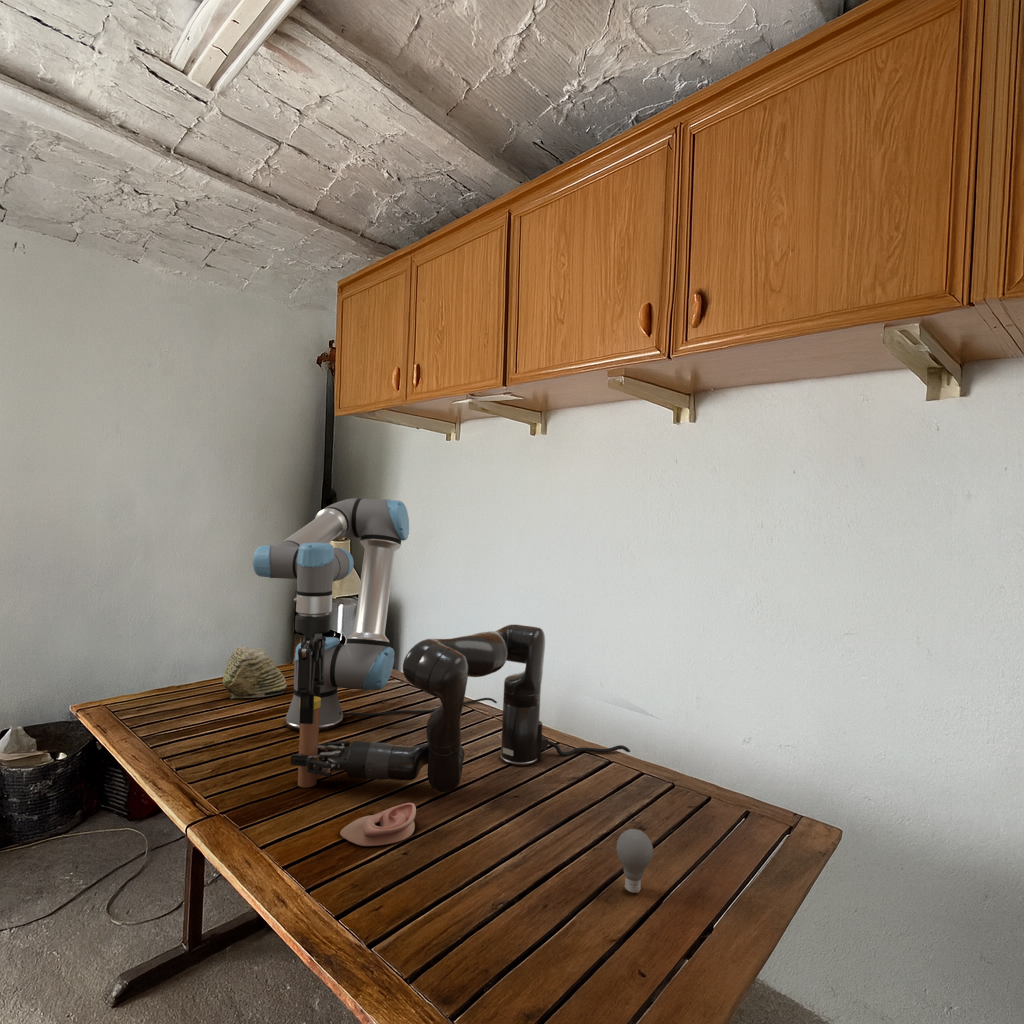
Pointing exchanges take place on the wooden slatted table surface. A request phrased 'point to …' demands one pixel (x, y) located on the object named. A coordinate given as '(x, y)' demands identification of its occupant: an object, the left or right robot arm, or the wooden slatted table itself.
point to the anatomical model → (382, 826)
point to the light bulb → (634, 857)
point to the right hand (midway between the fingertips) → (296, 755)
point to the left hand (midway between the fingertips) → (309, 718)
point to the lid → (317, 702)
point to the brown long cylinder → (308, 749)
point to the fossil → (252, 674)
